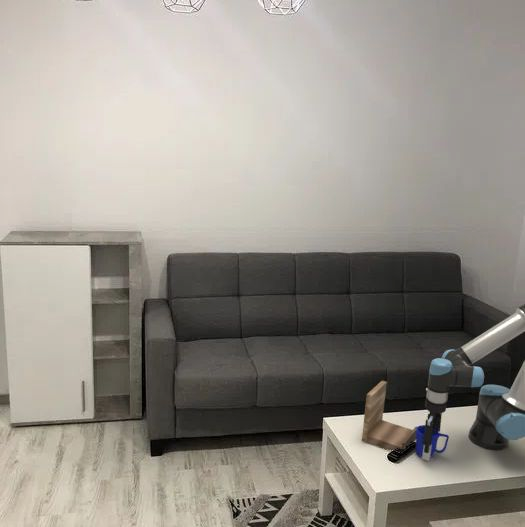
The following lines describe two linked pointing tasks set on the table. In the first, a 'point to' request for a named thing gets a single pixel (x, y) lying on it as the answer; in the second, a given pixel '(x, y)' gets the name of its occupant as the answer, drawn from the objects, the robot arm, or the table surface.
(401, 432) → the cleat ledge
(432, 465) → the table surface
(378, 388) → the wall board
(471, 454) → the table surface
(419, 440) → the mug
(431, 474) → the table surface
